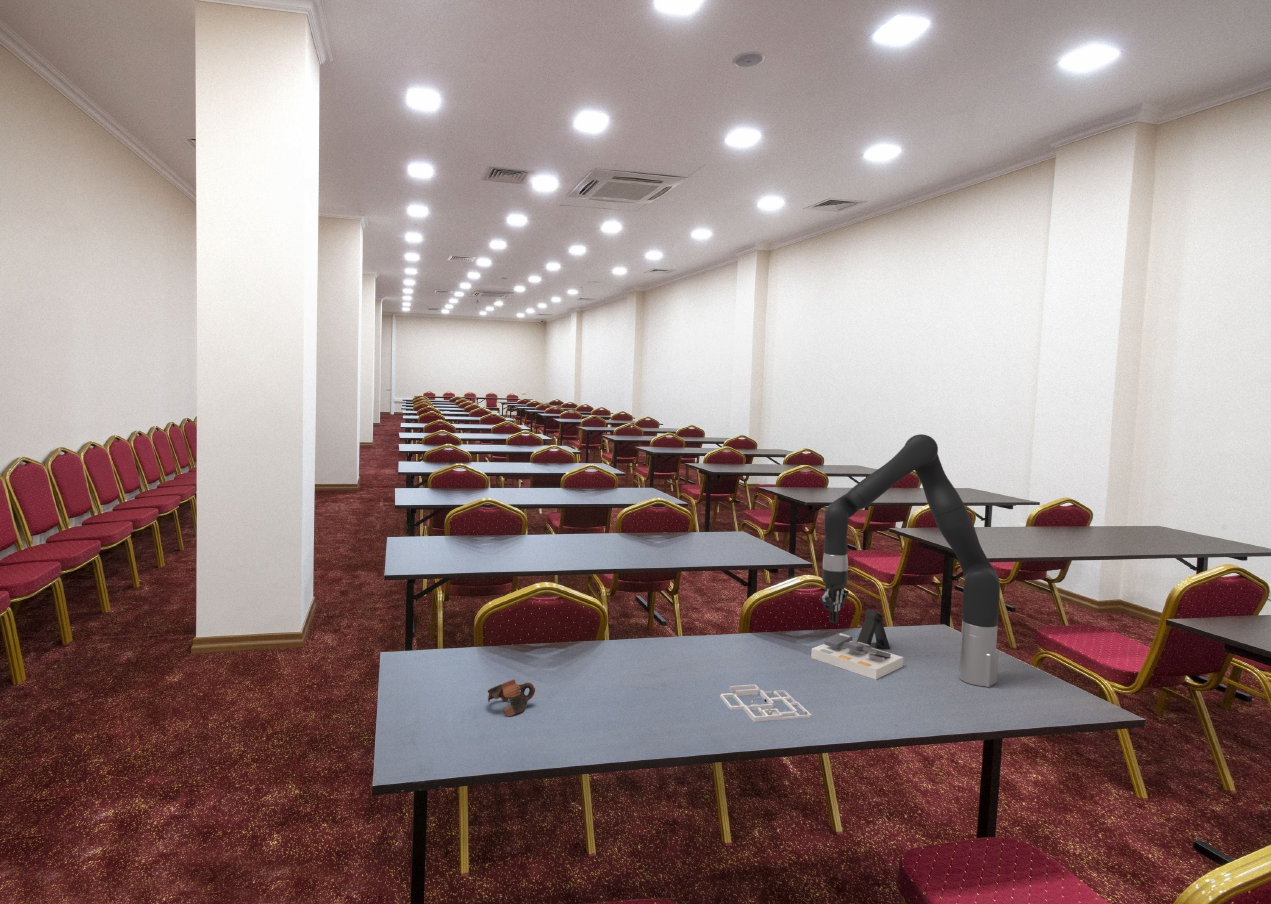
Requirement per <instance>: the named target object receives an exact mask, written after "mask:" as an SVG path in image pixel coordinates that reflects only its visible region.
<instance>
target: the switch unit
mask: <svg viewBox="0 0 1271 904" xmlns="http://www.w3.org/2000/svg"><path fill="white" fill-rule="evenodd" d="M850 642H852V641H850ZM872 649H875V648H872ZM876 650H878V649H876ZM883 651H884V652H887V651H886V650H883ZM810 653H811V655H810V657H811V659H813V660H816V661H819V662H822V663H825V664H827V665H830V666H833V667H837V668H840V669H843V670H846V671H849V672H852V673H855V674H857V675H861V676H864V677H866V678H867V677H868V678H869V679H872V680H878V679H880V678H882V677H884V676H886V675H889V674H891V673H893V672H894V671H897V670H899V669H901V668H903V667H904V656H901V655H897V654H895V653H891V652H887V653H889V654H891V656H890V658H889V657H885V656H881V655H877V654H874V653H871V652H867V651H864V650H853V649H850V648H846V647H843V645H842V646H840V647H839V648H834V647H831V646H827V645H824V643H822V644H820V645H818V646H817V645H816V646H815V647H811V652H810Z"/></svg>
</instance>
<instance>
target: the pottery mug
mask: <svg viewBox="0 0 1271 904" xmlns="http://www.w3.org/2000/svg"><path fill="white" fill-rule="evenodd" d="M526 689H528V690H529V691H528V693H527V694H525V691H526ZM487 693H488V696H487V702H488V703H490V702H491V700H493V699H495V700H498V699H501V700H502V701H503V702H506V701H510V705H509V706H506V707H505V708H504V710H503V711H504V713H505V715H506V717H507V718H508V717H512V716H515V715H517V714H520V713H522V712H524V711H525V709H526V705H527V704H528V702H529V701H530V700H531V699H532V698H533V697H534V695H535V693H536V688H535V687H534V684H533V683H531V682H524V683H522V684H518V683H517V682H516V679H511V680H508V681H506V682H503V683H500V684H497V685H496V686H494V687H490V689H489V688H488V690H487Z"/></svg>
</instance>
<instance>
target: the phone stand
mask: <svg viewBox="0 0 1271 904" xmlns="http://www.w3.org/2000/svg"><path fill="white" fill-rule="evenodd" d="M883 620H884V617H883V615H882V613H880V612H878V611H876V610H875V609H873V608H868V609H866V611H865V619H864V622H863V624H862V627H861V629H860V632H859V635H858V637H857V639H856V642H861V643H864V644H868V645H871V648H875V649H878V650H881V651H889V650H891V647H890V643H889V640H888V637H887V634H886V629H885V627H884V624H883ZM873 637H875V641H874V642H872V641H873V639H874V638H873Z"/></svg>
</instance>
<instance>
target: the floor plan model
mask: <svg viewBox="0 0 1271 904" xmlns="http://www.w3.org/2000/svg"><path fill="white" fill-rule="evenodd" d="M729 692H730V693H721V694H720V696H719V697H720V699H721V700H722V701H723V703H724V704H725V705H726V707H727V708H728V709H729V710H730V711H738V710H743V711H744V712H745V713H746V714H747V715H748V717H749V718H750V720H752V721H753V722H754V723H759V722H767V721H780V720H781V721H785V720H786V721H787V720H797V719H798V720H799V719H809V718H812V713H810V712H809V711H808V710H807V709H806V708H805V707H804V706H803V705H802V704H800V702H799V701H796V700H795V698H793V697H792V696H791V695H790V694H789V693H788V692H787V691H786V690H785V689H780V690H779V689H777V690H768V691H764V690H762V689H760V687H758V685H756V684H745V685H744V684H742V685H732V686H731V685H730V686H729ZM781 693H782V694H785V695H786V696H781V695H780V694H781ZM770 694H771V695H772V694H773V696H775V697H773V696H771V697H769V696H768V695H770ZM753 695H754V696H753ZM755 695H757V696H755ZM758 695H760V697H761V698H762V699H763V700H764V702H765V703H766V704H757V703H753V702H754V701H753V700H755V699H758V700H760V697H759V696H758ZM743 696H744V697H745V696H752V699H753V700H751V705H746V704H744V702H743V701H742V700H741V699H740V698H739V697H743ZM730 698H731V699H732V698H733V699H734V700H735V702H737V704H738V705H731V703H730V702H729V701H728V700H727V699H730ZM789 701H792V702H789ZM775 702H783V703H784V704H785V705H786V706H787V707H788V708H789V709H790V710H791V711H788V709H781V712H780V711H779V709H778V708H774V706H775ZM795 706H796V707H798V709H800V710H801V711H802V713H803V714H800V713H798V710H797V709H796V708H795ZM752 711H758V712H759V713H760V714H761V715H759V716H758V715H757V716H756V715H755V714H754V712H752Z"/></svg>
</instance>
